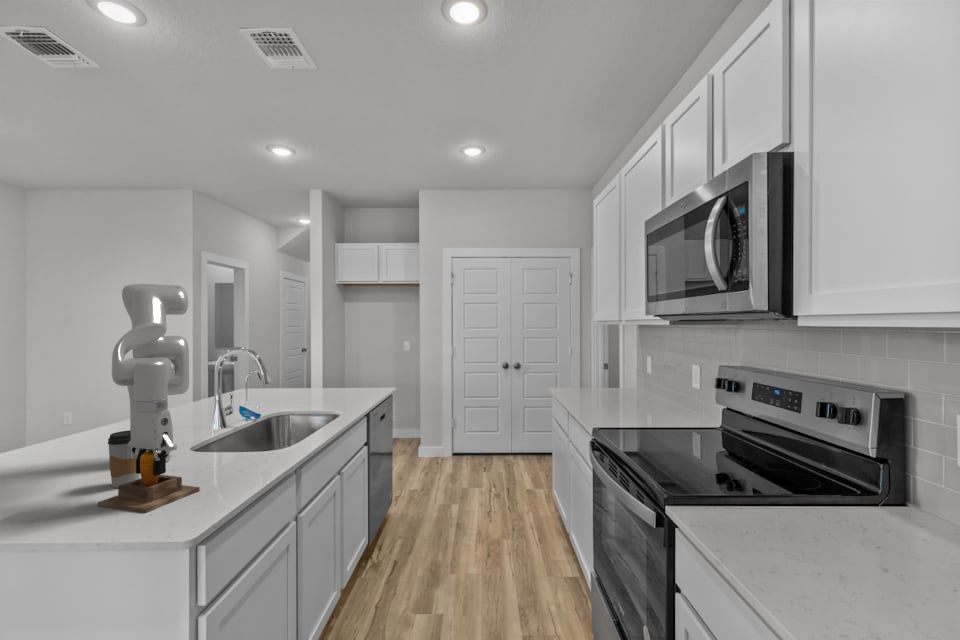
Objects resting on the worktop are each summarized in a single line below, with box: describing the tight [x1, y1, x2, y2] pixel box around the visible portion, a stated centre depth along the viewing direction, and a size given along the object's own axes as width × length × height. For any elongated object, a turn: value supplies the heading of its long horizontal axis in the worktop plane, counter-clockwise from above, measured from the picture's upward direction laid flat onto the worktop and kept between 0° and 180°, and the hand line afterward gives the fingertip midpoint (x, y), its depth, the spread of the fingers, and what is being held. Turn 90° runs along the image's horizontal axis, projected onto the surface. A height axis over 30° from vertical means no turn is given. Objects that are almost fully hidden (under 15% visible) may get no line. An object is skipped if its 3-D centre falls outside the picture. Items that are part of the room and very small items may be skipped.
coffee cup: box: [107, 430, 141, 489], centre depth 138 cm, size 8×8×15 cm
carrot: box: [140, 449, 160, 487], centre depth 128 cm, size 5×5×15 cm
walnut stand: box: [97, 474, 201, 514], centre depth 128 cm, size 16×16×4 cm
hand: (150, 472), depth 128 cm, fingers open, 5 cm apart
